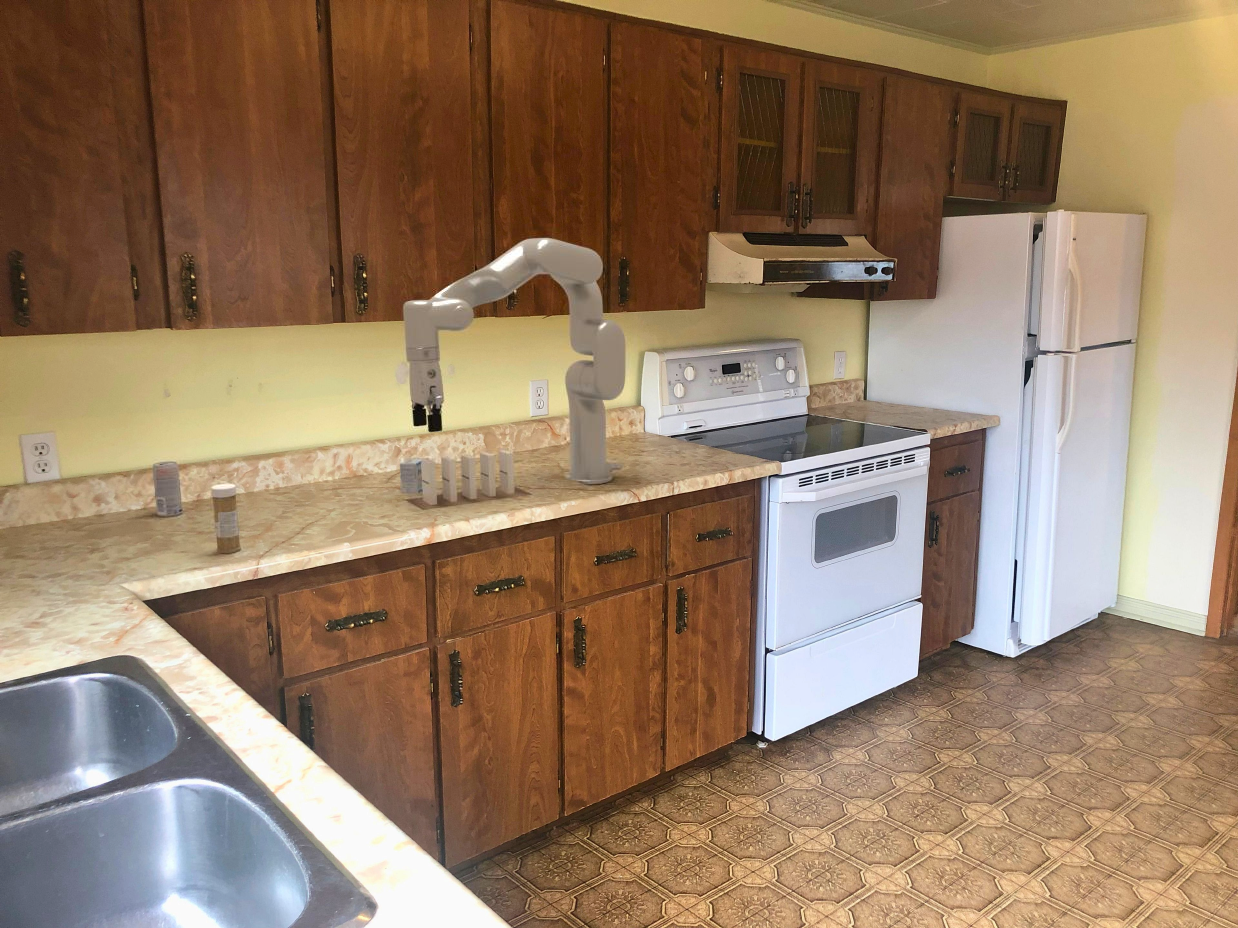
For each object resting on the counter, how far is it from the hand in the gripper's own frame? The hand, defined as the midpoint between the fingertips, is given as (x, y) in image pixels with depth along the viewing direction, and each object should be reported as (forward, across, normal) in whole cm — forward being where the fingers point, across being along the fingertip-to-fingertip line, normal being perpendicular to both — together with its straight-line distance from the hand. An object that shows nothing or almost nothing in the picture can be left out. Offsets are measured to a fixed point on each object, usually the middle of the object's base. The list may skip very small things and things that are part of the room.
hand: (427, 428), depth 224 cm
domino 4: (+18, 0, -14) cm, 23 cm away
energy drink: (+18, +27, +54) cm, 63 cm away
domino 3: (+18, 0, -9) cm, 20 cm away
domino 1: (+18, 0, +1) cm, 18 cm away
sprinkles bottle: (+18, -12, +48) cm, 52 cm away
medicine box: (+19, +15, -1) cm, 24 cm away
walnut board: (+19, 0, -9) cm, 21 cm away
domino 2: (+18, 0, -4) cm, 18 cm away
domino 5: (+18, 0, -19) cm, 26 cm away
